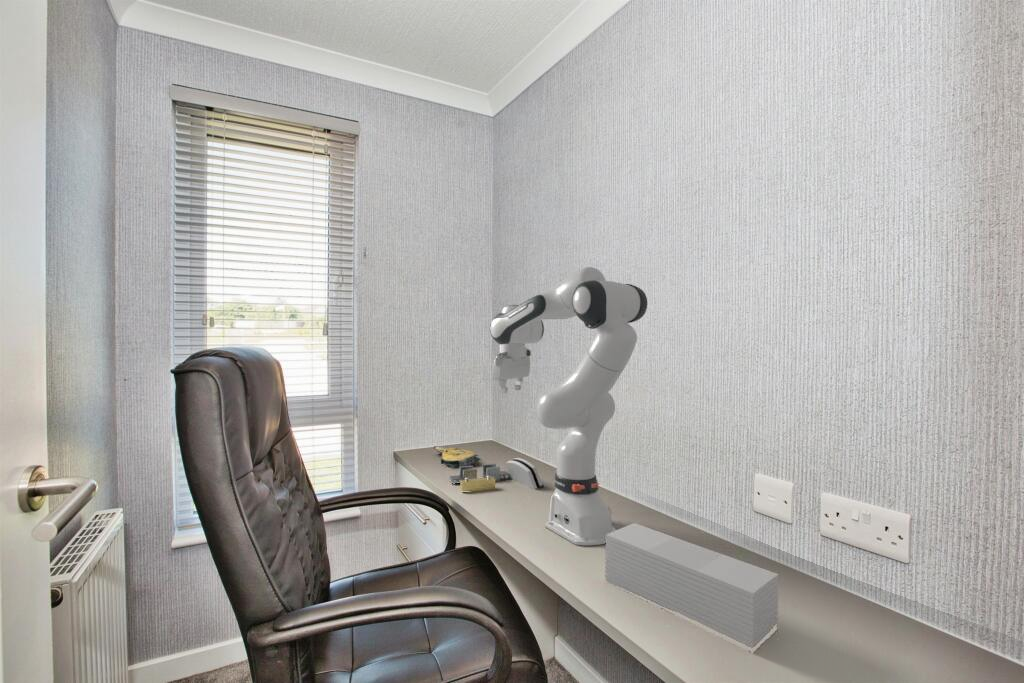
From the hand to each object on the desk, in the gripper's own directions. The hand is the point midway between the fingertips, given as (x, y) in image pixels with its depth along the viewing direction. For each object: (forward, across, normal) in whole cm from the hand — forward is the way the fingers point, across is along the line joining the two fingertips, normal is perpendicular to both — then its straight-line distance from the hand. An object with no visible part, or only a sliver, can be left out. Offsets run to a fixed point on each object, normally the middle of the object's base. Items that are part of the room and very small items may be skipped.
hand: (511, 391), depth 171 cm
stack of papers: (+34, -44, -68) cm, 87 cm away
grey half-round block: (+35, +10, 0) cm, 37 cm away
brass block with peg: (+35, -6, +9) cm, 37 cm away
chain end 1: (+35, -2, +19) cm, 40 cm away
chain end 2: (+35, +9, +11) cm, 38 cm away
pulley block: (+36, +21, +41) cm, 59 cm away
